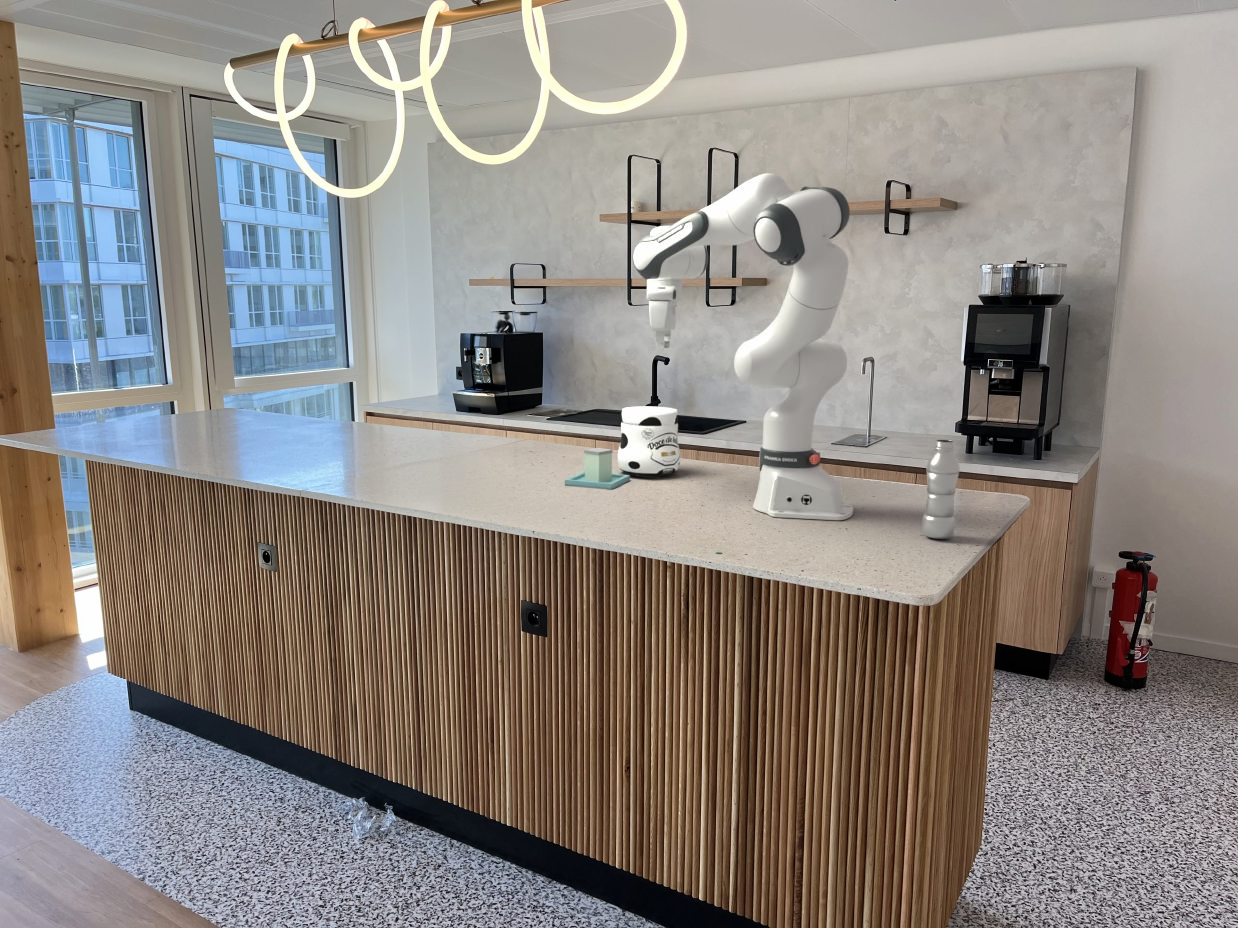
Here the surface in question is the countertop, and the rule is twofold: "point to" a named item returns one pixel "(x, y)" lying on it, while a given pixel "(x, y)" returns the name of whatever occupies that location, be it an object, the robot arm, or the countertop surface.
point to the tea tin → (598, 465)
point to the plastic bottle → (941, 491)
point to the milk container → (649, 441)
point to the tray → (580, 481)
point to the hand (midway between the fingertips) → (663, 348)
